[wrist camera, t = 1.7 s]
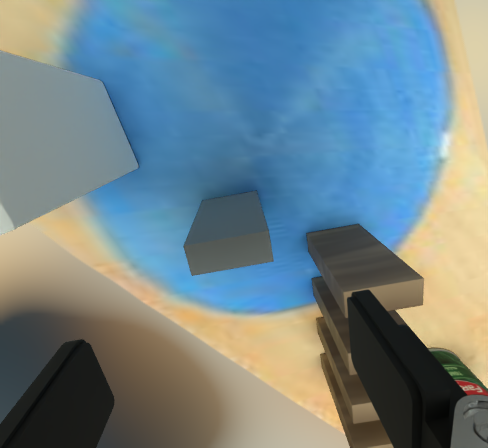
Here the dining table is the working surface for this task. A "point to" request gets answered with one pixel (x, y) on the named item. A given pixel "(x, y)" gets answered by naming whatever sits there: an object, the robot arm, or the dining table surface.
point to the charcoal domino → (228, 234)
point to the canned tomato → (459, 372)
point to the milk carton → (54, 139)
